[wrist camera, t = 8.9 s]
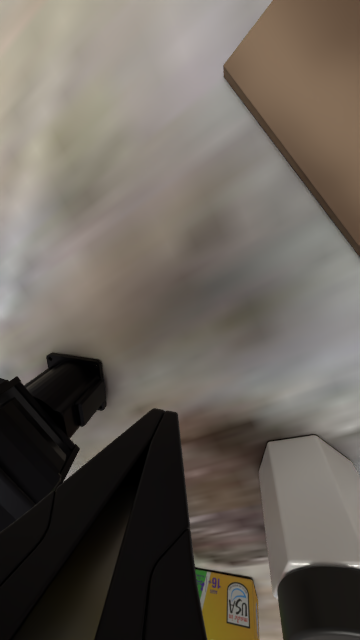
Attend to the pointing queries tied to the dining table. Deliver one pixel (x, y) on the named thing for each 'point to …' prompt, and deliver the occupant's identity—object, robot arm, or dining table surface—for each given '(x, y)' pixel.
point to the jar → (312, 538)
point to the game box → (228, 606)
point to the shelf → (309, 96)
